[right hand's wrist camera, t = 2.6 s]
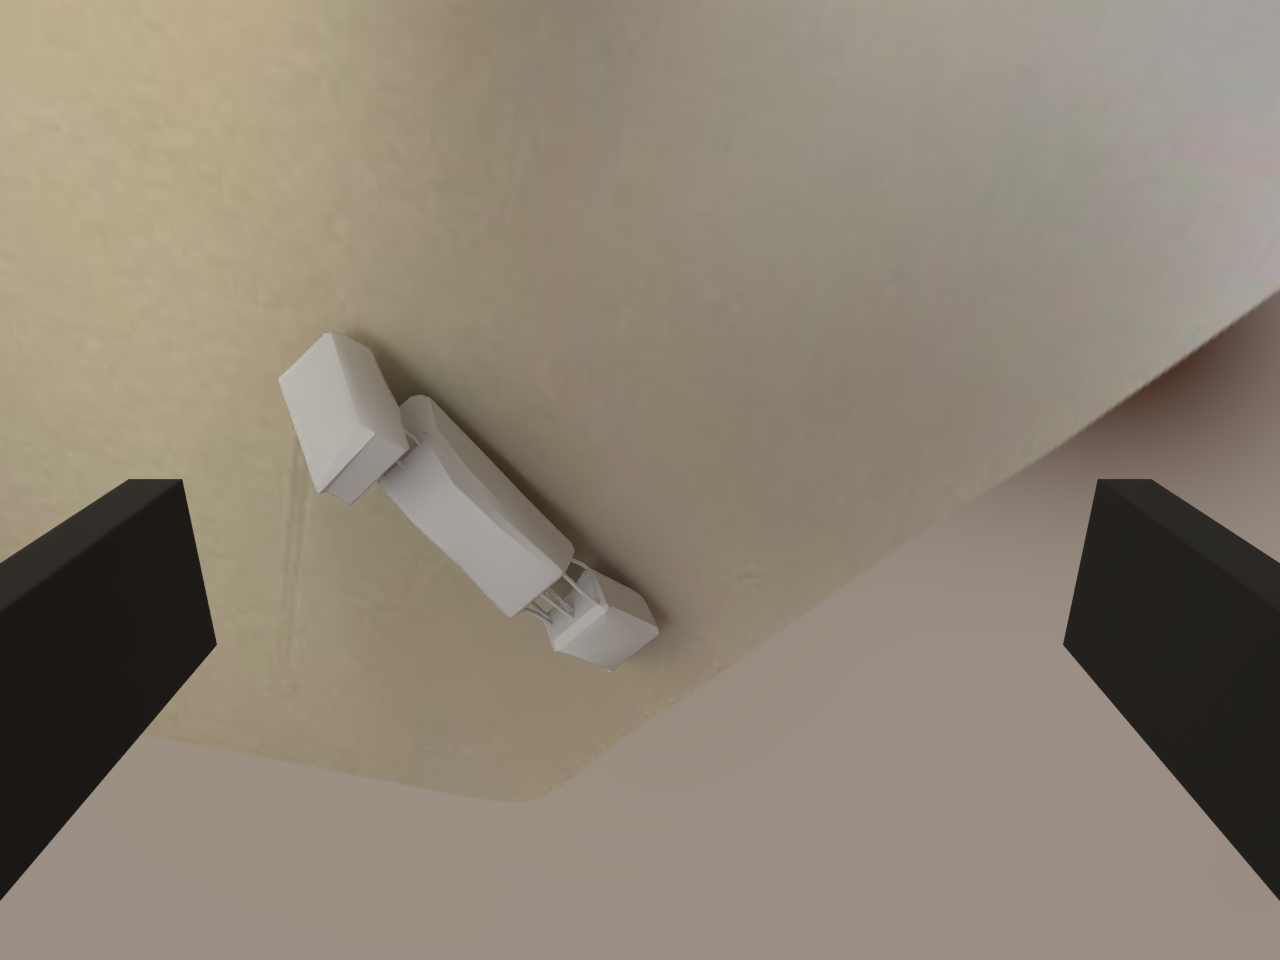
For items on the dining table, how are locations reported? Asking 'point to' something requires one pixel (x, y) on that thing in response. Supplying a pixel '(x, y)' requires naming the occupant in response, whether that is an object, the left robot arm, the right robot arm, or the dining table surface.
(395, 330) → the dining table surface
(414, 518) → the clamp
